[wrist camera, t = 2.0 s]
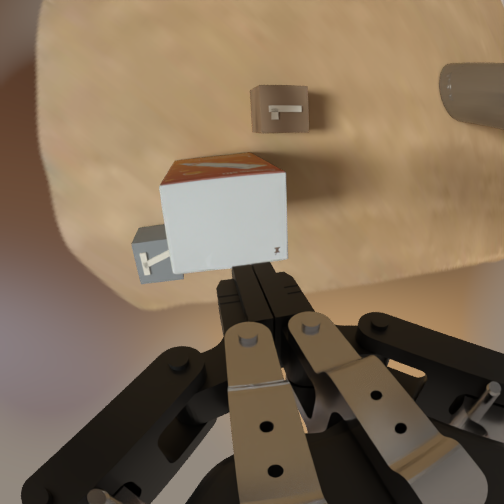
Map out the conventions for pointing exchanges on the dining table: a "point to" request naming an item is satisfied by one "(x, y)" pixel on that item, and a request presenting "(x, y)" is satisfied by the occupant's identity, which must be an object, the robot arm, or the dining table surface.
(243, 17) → the dining table surface
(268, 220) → the small box
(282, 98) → the walnut block one
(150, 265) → the slate block seven
